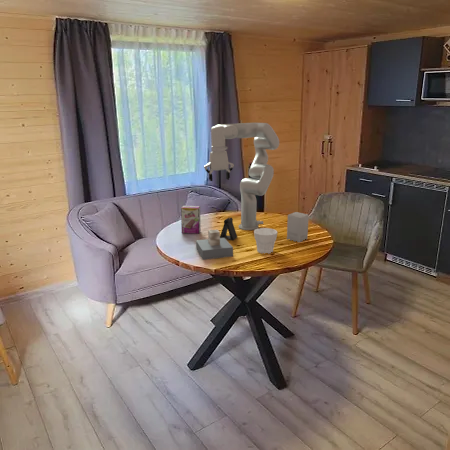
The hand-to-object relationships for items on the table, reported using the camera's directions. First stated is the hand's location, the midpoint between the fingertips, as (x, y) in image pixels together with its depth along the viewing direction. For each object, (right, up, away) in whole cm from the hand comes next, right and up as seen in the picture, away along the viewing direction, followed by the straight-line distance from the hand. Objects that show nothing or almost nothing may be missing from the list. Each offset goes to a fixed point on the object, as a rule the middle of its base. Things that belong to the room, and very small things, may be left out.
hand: (219, 180), depth 229 cm
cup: (+25, -39, -10) cm, 48 cm away
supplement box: (+45, -34, +9) cm, 57 cm away
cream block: (-3, -35, -14) cm, 38 cm away
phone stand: (+5, -33, +11) cm, 35 cm away
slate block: (-3, -40, -12) cm, 42 cm away
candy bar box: (-18, -30, +20) cm, 40 cm away
